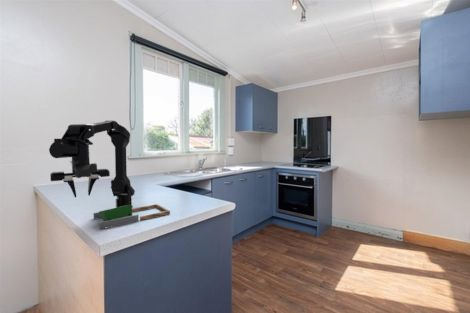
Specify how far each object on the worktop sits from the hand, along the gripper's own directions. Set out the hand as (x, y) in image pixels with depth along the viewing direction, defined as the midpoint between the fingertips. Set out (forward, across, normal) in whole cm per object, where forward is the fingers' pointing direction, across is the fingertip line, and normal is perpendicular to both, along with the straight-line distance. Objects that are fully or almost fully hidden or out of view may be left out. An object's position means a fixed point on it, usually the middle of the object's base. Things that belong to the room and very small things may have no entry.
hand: (82, 196), depth 88 cm
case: (+12, +12, 0) cm, 17 cm away
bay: (+12, +26, 0) cm, 29 cm away
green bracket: (+12, +12, 0) cm, 17 cm away
